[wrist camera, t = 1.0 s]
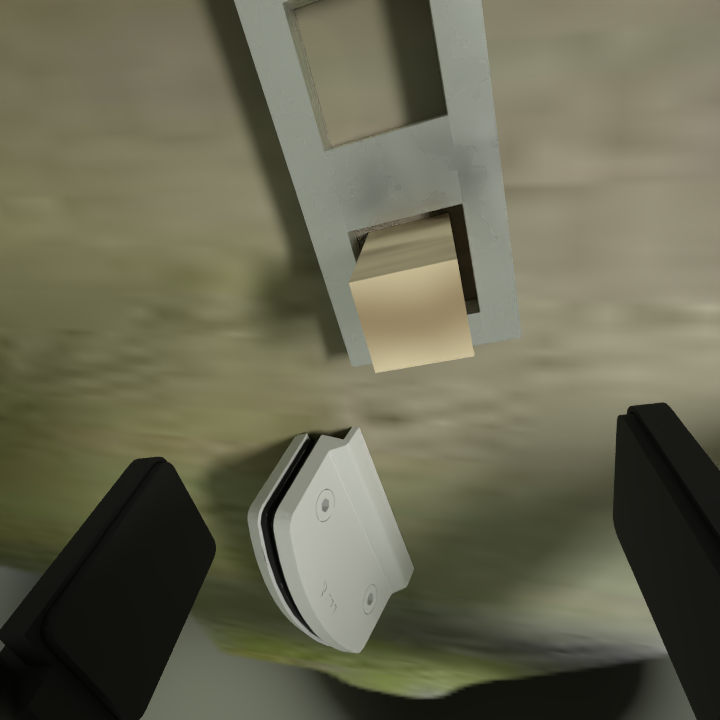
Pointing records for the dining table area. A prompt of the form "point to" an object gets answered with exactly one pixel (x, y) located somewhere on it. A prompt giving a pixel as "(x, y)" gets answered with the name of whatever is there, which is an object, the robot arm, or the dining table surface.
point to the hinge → (329, 540)
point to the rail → (394, 163)
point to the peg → (411, 295)
